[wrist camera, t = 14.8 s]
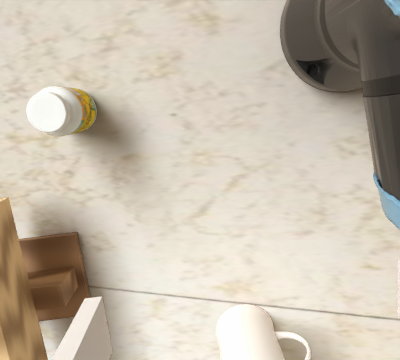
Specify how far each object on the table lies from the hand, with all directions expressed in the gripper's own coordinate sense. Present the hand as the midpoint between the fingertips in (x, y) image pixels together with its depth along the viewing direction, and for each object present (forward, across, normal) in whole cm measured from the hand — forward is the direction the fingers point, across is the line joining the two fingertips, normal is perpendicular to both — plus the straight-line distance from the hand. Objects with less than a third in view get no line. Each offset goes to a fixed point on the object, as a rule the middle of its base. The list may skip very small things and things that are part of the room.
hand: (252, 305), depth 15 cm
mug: (+32, +4, -24) cm, 40 cm away
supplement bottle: (+32, -16, +10) cm, 37 cm away
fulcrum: (+32, -26, -12) cm, 43 cm away
